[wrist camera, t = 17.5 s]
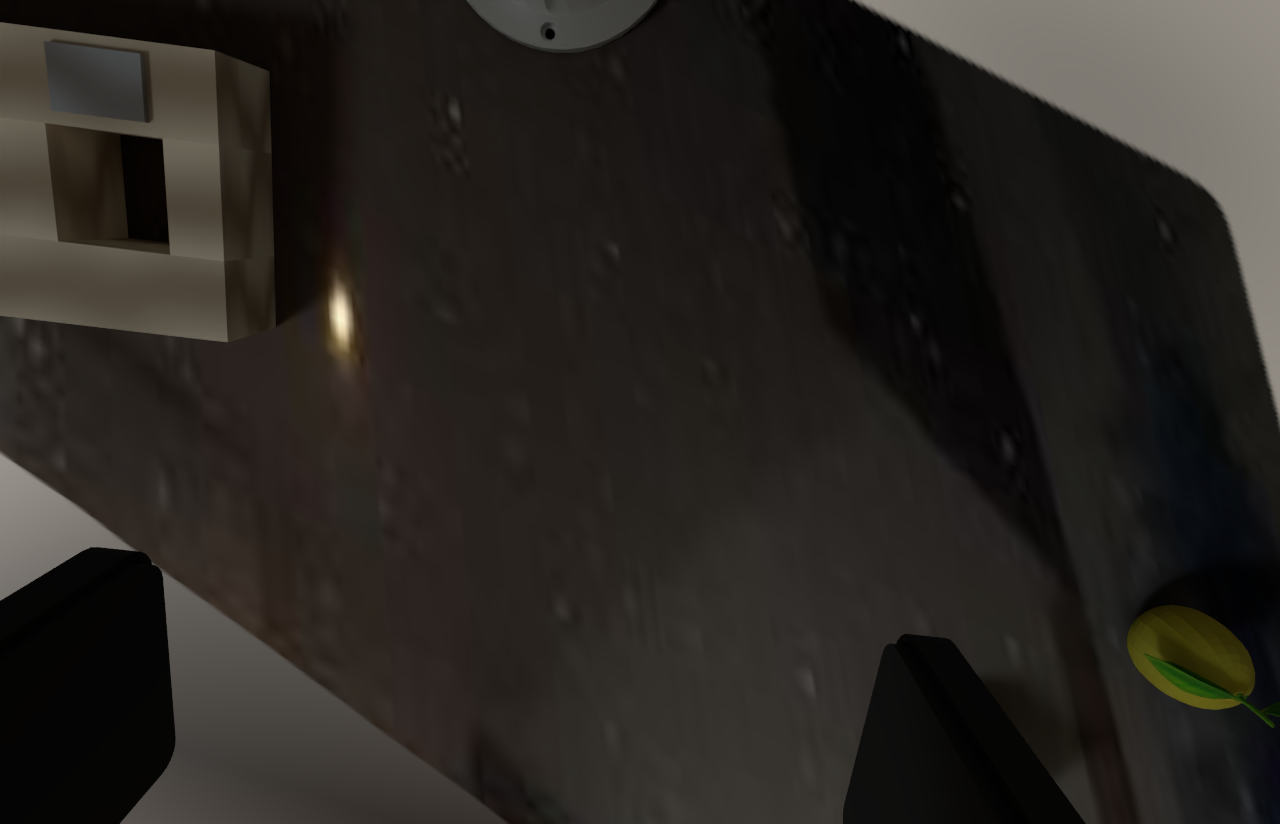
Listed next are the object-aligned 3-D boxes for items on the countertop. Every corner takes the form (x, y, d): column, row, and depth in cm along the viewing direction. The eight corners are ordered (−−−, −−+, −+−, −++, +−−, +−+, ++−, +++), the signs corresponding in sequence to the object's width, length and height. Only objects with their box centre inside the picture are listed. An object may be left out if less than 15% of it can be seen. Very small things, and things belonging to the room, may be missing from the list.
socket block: (-189, 11, 36) (-324, -22, 31) (269, 71, 37) (210, 48, 32) (-139, 278, 40) (-252, 287, 35) (275, 327, 41) (224, 343, 36)
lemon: (1209, 630, 47) (1355, 738, 37) (1130, 675, 48) (1253, 791, 38) (1164, 560, 45) (1305, 653, 36) (1084, 608, 46) (1200, 712, 37)
